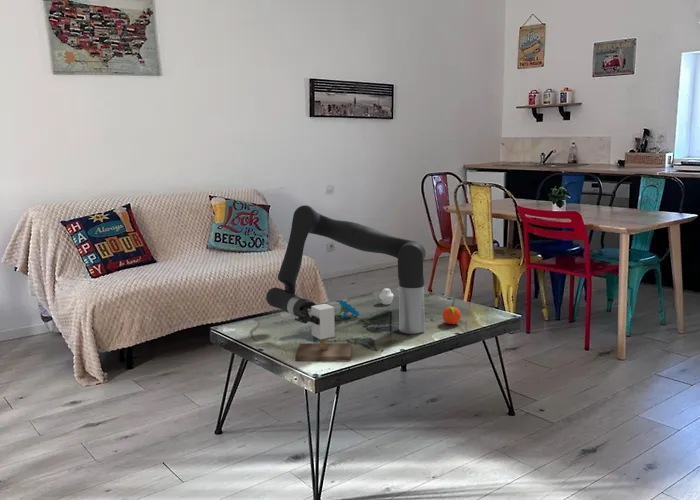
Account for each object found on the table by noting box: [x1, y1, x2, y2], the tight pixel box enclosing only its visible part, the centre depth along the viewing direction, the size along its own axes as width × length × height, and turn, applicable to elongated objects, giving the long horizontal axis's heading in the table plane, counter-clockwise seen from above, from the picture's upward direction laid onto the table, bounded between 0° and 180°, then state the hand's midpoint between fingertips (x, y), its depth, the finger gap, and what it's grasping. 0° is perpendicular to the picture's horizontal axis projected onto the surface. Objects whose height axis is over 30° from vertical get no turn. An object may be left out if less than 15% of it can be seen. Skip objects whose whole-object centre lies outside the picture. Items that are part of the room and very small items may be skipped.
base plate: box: [294, 338, 353, 362], centre depth 205 cm, size 18×13×6 cm
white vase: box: [378, 287, 394, 306], centre depth 266 cm, size 6×6×7 cm
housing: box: [311, 303, 336, 340], centre depth 204 cm, size 6×6×10 cm
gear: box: [337, 299, 361, 319], centre depth 247 cm, size 11×6×10 cm
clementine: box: [442, 305, 462, 325], centre depth 235 cm, size 8×7×7 cm
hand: (327, 320), depth 202 cm, fingers closed on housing, 5 cm apart
